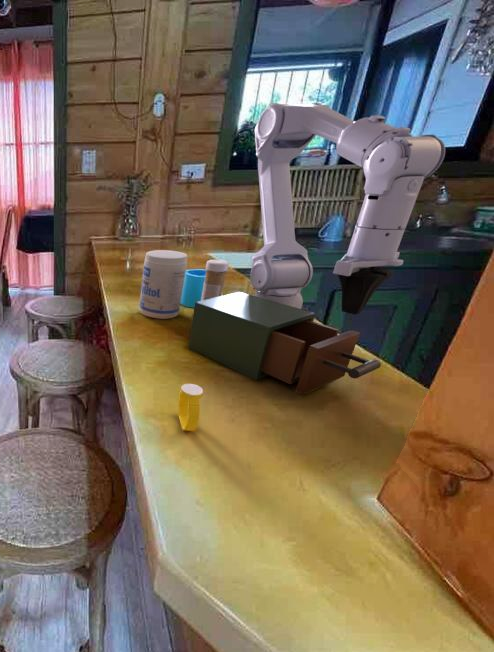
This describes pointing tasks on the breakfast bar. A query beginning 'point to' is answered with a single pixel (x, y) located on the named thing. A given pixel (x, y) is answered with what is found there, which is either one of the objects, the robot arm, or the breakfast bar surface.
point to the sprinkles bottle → (214, 279)
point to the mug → (193, 287)
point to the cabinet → (240, 329)
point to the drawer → (313, 355)
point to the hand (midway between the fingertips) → (350, 312)
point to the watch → (189, 406)
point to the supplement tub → (162, 283)
